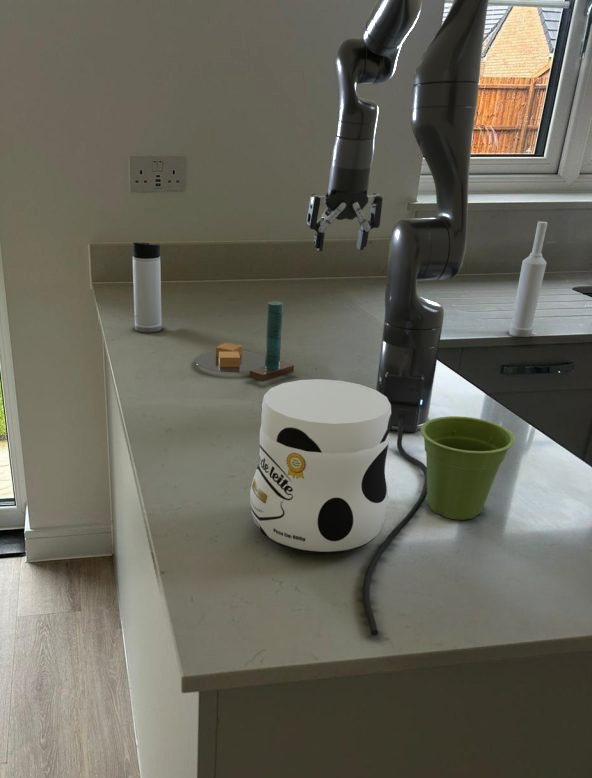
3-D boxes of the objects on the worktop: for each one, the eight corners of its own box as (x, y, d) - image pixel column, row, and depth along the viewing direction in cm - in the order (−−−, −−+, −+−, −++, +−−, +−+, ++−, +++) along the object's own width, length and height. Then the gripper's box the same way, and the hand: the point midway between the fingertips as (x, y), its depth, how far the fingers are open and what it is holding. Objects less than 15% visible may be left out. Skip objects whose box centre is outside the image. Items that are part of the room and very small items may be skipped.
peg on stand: (280, 372, 158) (284, 297, 151) (293, 377, 155) (298, 301, 148) (249, 382, 152) (251, 305, 145) (262, 387, 150) (265, 308, 143)
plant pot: (393, 496, 111) (403, 422, 105) (462, 484, 114) (476, 411, 109) (443, 536, 101) (457, 457, 95) (517, 521, 105) (535, 443, 99)
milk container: (222, 535, 100) (225, 403, 92) (294, 488, 112) (303, 367, 104) (340, 583, 91) (356, 440, 83) (406, 525, 103) (425, 396, 95)
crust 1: (232, 359, 161) (232, 350, 160) (215, 356, 163) (215, 347, 162) (241, 355, 164) (242, 345, 163) (225, 351, 166) (225, 342, 165)
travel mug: (129, 330, 183) (125, 241, 174) (144, 324, 189) (141, 237, 179) (152, 334, 181) (149, 244, 171) (166, 327, 186) (165, 240, 176)
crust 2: (239, 367, 157) (239, 357, 156) (219, 367, 157) (220, 357, 156) (238, 360, 160) (238, 351, 159) (218, 361, 160) (218, 351, 159)
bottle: (533, 338, 182) (557, 224, 170) (509, 336, 182) (532, 223, 170) (529, 332, 186) (553, 221, 174) (506, 330, 187) (528, 220, 175)
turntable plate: (257, 381, 153) (257, 375, 152) (184, 373, 157) (184, 367, 156) (274, 359, 166) (274, 353, 165) (206, 352, 170) (206, 346, 169)
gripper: (321, 167, 142) (310, 257, 151) (395, 167, 144) (380, 255, 154) (308, 158, 147) (299, 244, 157) (380, 157, 150) (366, 242, 160)
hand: (339, 249), depth 155 cm, fingers open, 8 cm apart
